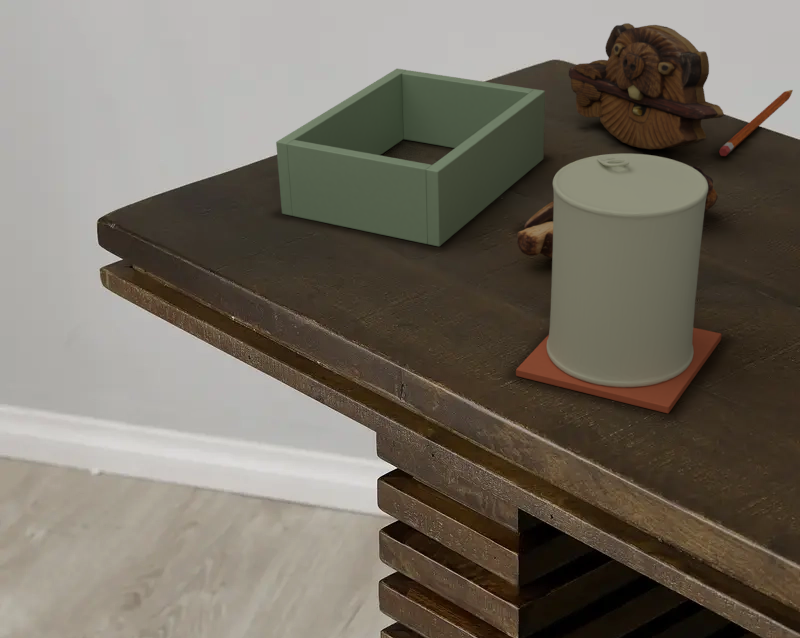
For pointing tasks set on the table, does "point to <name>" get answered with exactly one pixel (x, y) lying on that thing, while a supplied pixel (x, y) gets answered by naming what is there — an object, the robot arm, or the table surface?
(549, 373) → the mat
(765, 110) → the pencil
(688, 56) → the wooden carving
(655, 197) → the can
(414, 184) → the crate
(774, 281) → the table surface
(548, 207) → the lashed bone hook
